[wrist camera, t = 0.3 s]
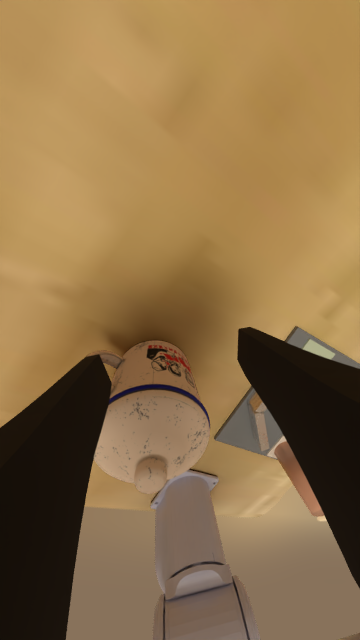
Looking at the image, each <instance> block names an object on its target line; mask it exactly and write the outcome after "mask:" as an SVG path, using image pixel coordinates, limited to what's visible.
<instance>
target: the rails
mask: <svg viewBox="0 0 360 640" xmlns="http://www.w3.org/2000/svg"><path fill="white" fill-rule="evenodd" d="M248 401H249V402H247V405H248V410H249V415H250V420H251V425H252V430H253V435H254V439H255V441H256V442H257V444H258V446H259V448H260V450H261V451H264V450H267V449H269V443H268V437H267V431H266V425H265V418H264V411H265V410H266V409H267V408H266V406H265V405H264V403H263V402H262V400H261V399H260V397H259V396H258V394H257V393H256V391H254V392H253V393H252V395H251V396H250V397H249V399H248Z"/></svg>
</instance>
